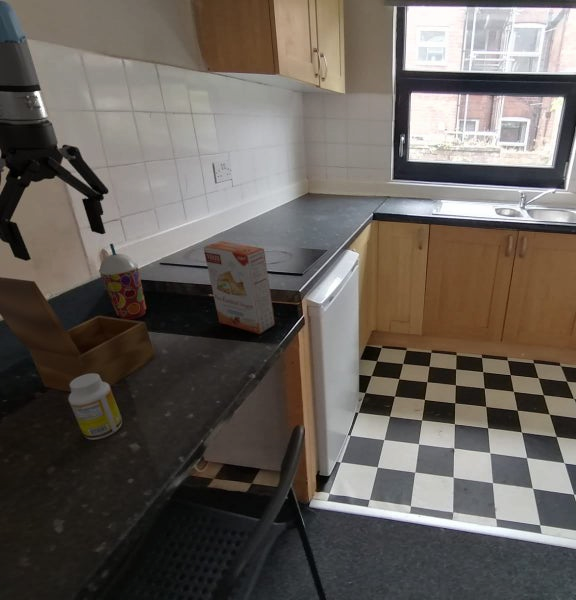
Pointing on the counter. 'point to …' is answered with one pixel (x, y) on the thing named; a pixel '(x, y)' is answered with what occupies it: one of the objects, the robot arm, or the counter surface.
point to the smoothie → (123, 285)
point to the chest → (97, 352)
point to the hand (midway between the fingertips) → (63, 244)
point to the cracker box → (240, 286)
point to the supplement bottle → (94, 406)
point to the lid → (33, 318)
